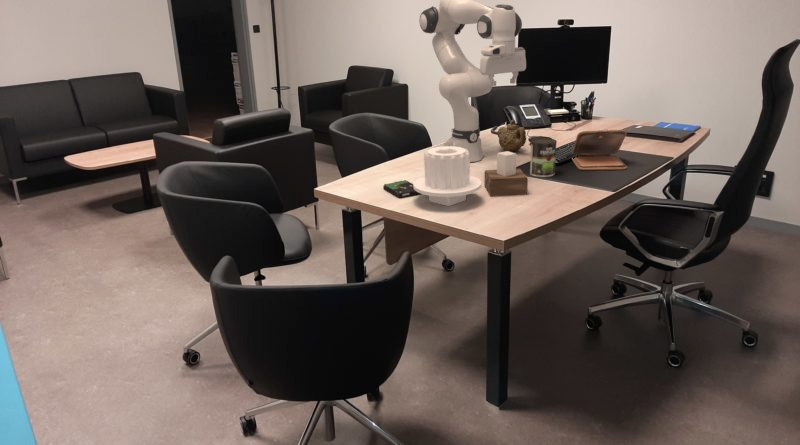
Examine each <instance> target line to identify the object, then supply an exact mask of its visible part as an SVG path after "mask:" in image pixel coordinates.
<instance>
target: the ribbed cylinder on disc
mask: <svg viewBox="0 0 800 445" xmlns="http://www.w3.org/2000/svg"><path fill="white" fill-rule="evenodd" d="M423 156H424V157H423V158H424V159H423V160H424V161H423V162H424V166H423V167H424V176H422V177H419V178H418V179H416V180H414V182H413V183H412V184H413V188H414V190H415V191H417V192H418V193H421V194H422V195H425V196H428V201H429V202H430V203H435V204H438V205H442V206H446V207H451V206H453V205H457V204H459V203H461V202H464V201H466V200H467V195H470V194H473V193H474V194H475V193H476V192H478V191H479V190H480V189H481V188H482V180H481V179H479V177H476V176H472V175H470V174H471V173H470V172H471V170H470V166H471V165H470V163H471V162H470V154H469V152H468V150H467V149H464V148H461V147H453V146H444V145H443V146H436V147H430V148H429V149H427V150H425V151H424V153H423Z"/></svg>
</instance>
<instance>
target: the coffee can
mask: <svg viewBox="0 0 800 445" xmlns="http://www.w3.org/2000/svg"><path fill="white" fill-rule="evenodd" d="M556 152H557V140H556V139H555V138H548V137H537V138H532V139H531V140H530V162H529V164H530V165H529V166H530V167H529V175H530V176H533V177H537V178H548V177H549V178H550V177H553V176H555V174H556V154H557V153H556Z"/></svg>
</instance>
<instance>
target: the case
mask: <svg viewBox="0 0 800 445" xmlns="http://www.w3.org/2000/svg"><path fill="white" fill-rule="evenodd" d="M627 133H628V132H627V130H625V129H609V130H608V129H607V130H606V129H605V130H604V129H601V130H583V131H579V132H578V133H577V134H576V135H577V136H576V138H575V140H574V141H575V142H574V143H573V146H572V151H571V153H572V155H576V154H577V155H576V156H574V157H575V158H574V159H573V157H571V160H572V161H573V163H574V165H575V167H576V168H577V169H578V170H580V171H625V170H627V169H628V166H627V165H626V164H625V163H624V162H623V161H622V159H620V157H618V156H617V155H615V154H617V153H618V152H619V151H620V149H621V146H622V144H623V142H624V140H625V138H626V136H627ZM577 156H578V157H577Z"/></svg>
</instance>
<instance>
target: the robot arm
mask: <svg viewBox="0 0 800 445" xmlns="http://www.w3.org/2000/svg"><path fill="white" fill-rule="evenodd" d="M418 20H419V21H418V22H419V26H420V29H421V30H422V31H423V33H426V34H434V36H433V37H432V41H431V42H432V48H433V51H434V53H435V56H436V57H437V60H438V61H439V64H440V65H441V67H442V69H443V71H444V72H445V73H446V74H447V75H445V76H443V77H442V78H440V81H439V82H438V91H439V93H440V95H441V96H442V97H443V98H444V99H445V100H446V101H447V102H448V103H449V105H450V107H451V109H452V115H453V128H451V132H452V133H451V137H450V138H448V139H447V140H446V141H445V142H444V144H443V147H444V146H453V147H461V148H464V149H467V150H468V152H469V154H470V163H473V162H479V161H481V160H483V158H484V157H485V153H483V148H482V147H483V146H482V139H481V138H480V134H481V132H480V131H481V130H480V126H479V125H480V122H479V121H480V120H479V119H480V118H479V111H478V109H477V108H476V107H475V106H472V105H471V104H470V101H469V98H477V97H481V96H483V95H484V96H485V95H486V94H489V93H490V92H491V90H492V89H493V87H495V86H497V80H495V79H494V78H495V75H498V74H499V75H500V74H501V75H502V74H506V73H507V74H508V73H511V74H512V77H511V78H510V79H509V81H510V82H509V84H516V81H517V78H518V76H519V72H524V71H525V70H526V69H527V59H526V50H525V48H524V47H522V46H519V47H516V37H517V36H518V35H519V34H520V32H521V30H522V28H523V27H522V26H523V22H522V19H521V17H520V16H519V14H518V13H517V12H516V11H515V8H514V6H512V5H510V4H505V3H504V4H502V3H501V4H497V5H495V6H493V7H491V6H488V5H485V4H483V3H480V2H478V1H476V0H440V1H439V5H438V6H437V7H435V6H431V7H429V8H427V9H425V10H423V11H422V12H421V13H420V14H419V19H418ZM473 24H476V29H477V33H478V34H477V35H479V36H480V38H481V39H485V40H491V39H492V43H491V44H489V45H487V46H486V47H483V48H481V50H480V54H481V57H480V61H479V62H480V63H479V68H478V67H477V66H475V64H473V63H472V62H470V61H469V60H468V58H467V57H466V56H465V53H464V52H463V50H462V48H461V47H460V45H459V44H458V41H456V37H455V35H459V34H461V31H462V30H463V29H464V27H465V25H473Z"/></svg>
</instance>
